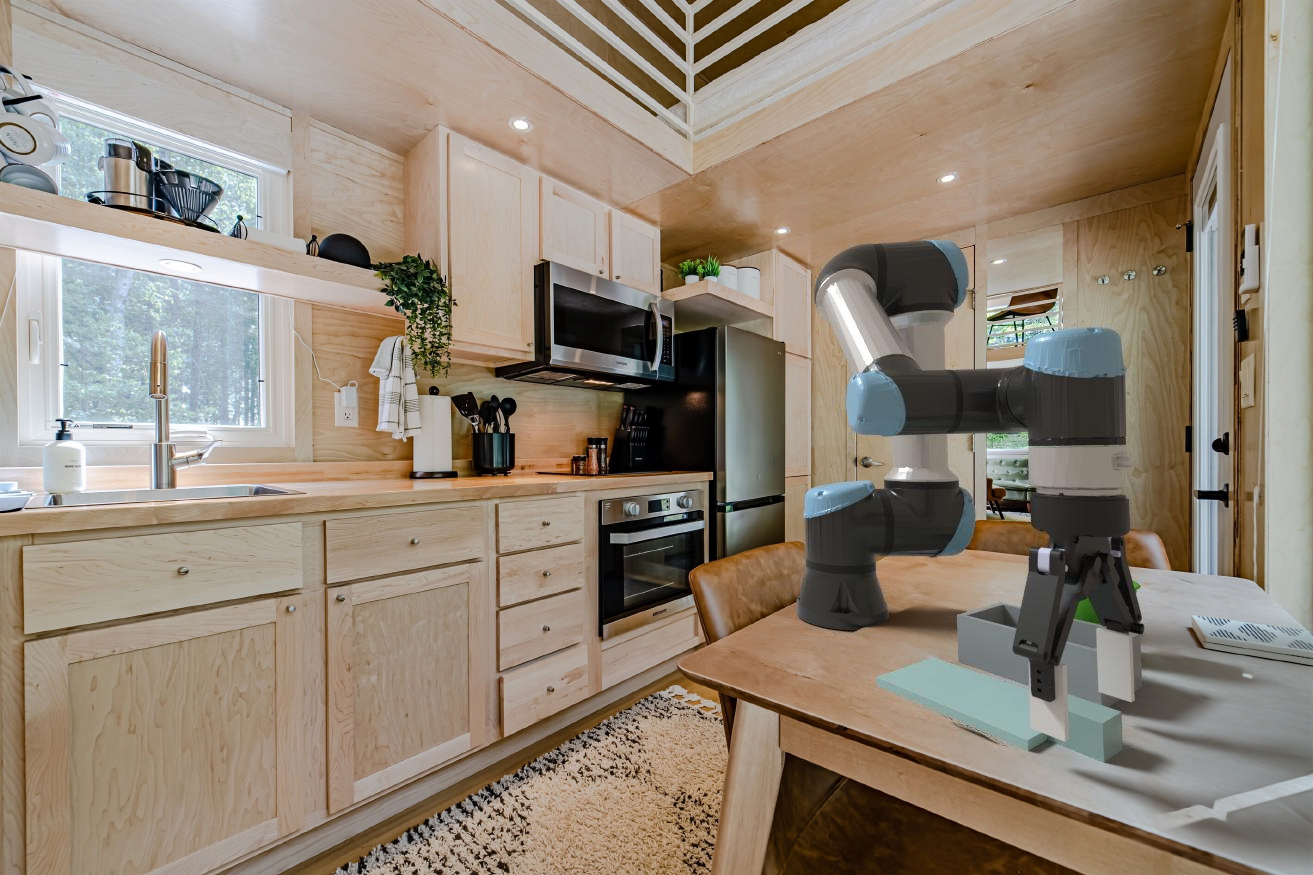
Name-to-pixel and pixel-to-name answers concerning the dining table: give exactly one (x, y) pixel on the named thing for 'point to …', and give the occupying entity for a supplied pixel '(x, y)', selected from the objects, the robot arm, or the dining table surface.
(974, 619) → the tub
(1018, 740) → the lid
